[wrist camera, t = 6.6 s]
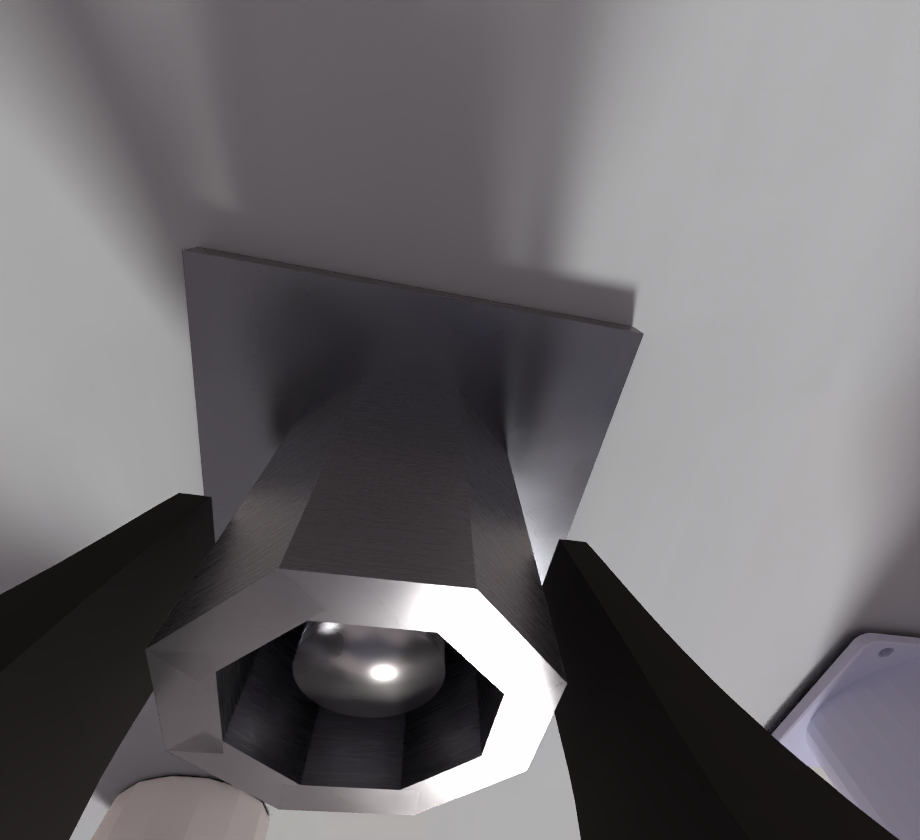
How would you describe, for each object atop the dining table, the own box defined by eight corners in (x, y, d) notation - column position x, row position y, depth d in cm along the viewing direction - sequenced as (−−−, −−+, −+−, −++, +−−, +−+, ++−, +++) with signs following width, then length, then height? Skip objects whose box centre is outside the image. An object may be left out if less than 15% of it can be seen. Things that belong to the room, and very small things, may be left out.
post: (633, 327, 11) (819, 449, 5) (528, 612, 15) (575, 833, 10) (197, 246, 9) (-105, 304, 4) (222, 582, 14) (89, 813, 9)
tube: (522, 399, 11) (605, 602, 5) (478, 563, 13) (504, 819, 8) (295, 364, 10) (125, 552, 5) (291, 542, 12) (176, 804, 7)
